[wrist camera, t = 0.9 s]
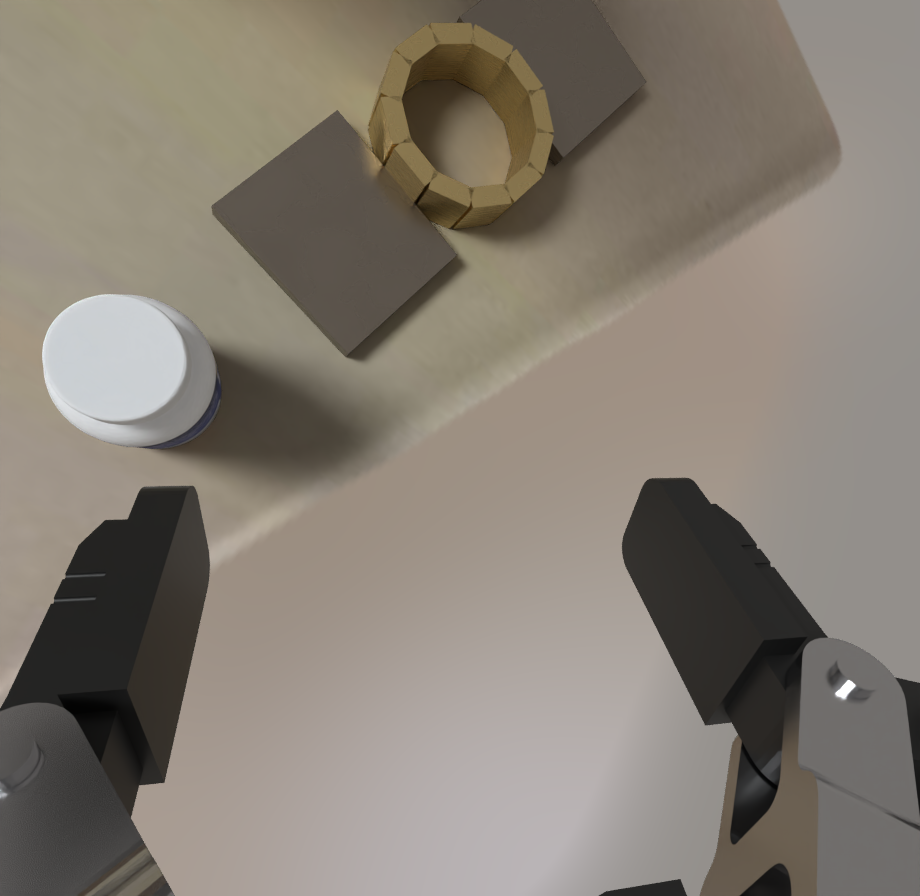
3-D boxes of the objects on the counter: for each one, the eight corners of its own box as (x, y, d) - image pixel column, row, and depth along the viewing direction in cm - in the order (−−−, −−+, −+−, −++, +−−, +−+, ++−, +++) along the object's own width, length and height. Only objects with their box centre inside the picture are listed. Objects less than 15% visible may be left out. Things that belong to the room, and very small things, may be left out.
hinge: (212, 214, 28) (209, 187, 25) (545, -42, 34) (572, -86, 31) (345, 356, 30) (355, 347, 27) (636, 91, 36) (668, 61, 34)
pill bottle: (247, 383, 28) (249, 351, 19) (171, 472, 27) (135, 481, 18) (148, 307, 27) (100, 233, 18) (63, 397, 26) (-34, 367, 17)
